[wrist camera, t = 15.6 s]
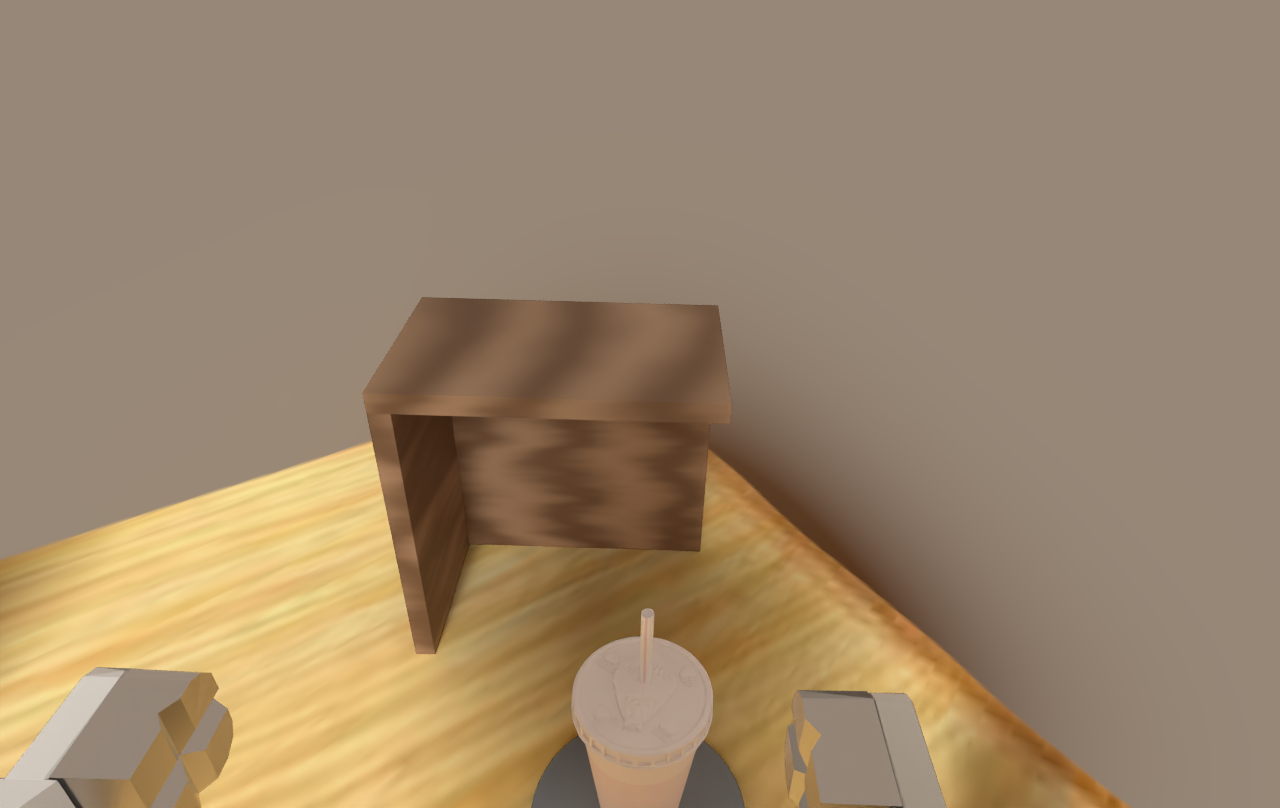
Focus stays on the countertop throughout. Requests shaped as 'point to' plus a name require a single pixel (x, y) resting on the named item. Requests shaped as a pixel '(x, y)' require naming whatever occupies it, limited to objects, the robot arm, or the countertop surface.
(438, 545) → the shelf
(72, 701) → the robot arm
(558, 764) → the coaster
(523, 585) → the countertop surface
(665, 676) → the smoothie
